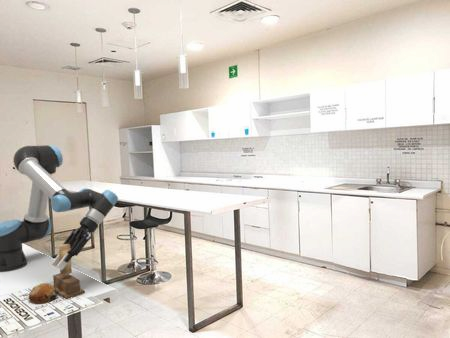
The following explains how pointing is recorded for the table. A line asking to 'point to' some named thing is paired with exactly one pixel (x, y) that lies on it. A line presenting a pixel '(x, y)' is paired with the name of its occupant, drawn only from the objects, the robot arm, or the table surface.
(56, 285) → the base
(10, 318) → the table surface
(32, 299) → the bread roll
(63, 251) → the post
